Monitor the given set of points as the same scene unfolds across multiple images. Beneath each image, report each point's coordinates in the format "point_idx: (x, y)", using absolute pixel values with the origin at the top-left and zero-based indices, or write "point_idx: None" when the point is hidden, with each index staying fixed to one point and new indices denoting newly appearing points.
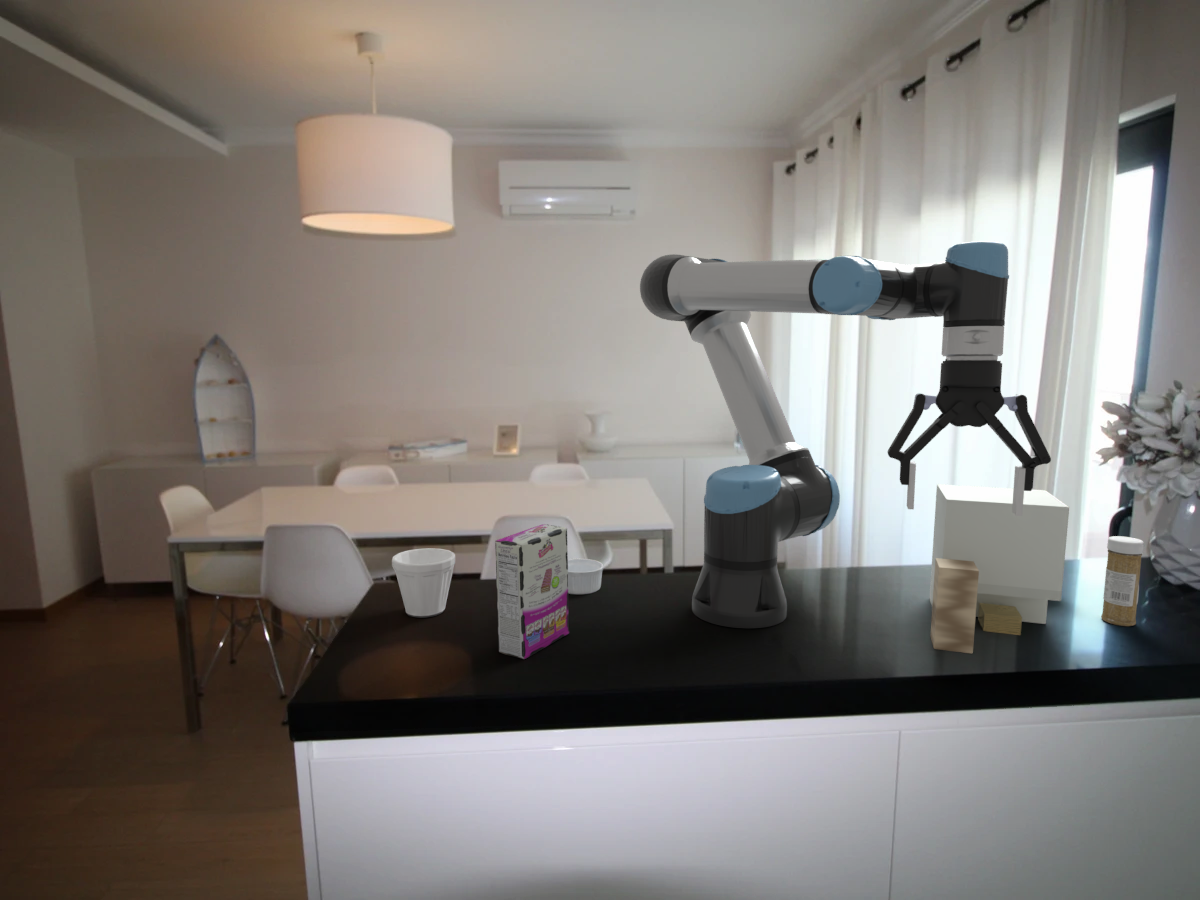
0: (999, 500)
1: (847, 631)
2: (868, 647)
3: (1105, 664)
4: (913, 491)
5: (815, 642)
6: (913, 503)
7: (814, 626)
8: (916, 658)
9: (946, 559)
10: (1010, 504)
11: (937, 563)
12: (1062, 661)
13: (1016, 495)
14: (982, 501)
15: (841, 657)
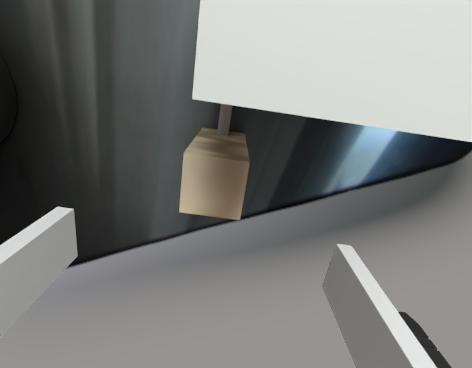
0: (387, 75)
1: (102, 130)
2: (127, 176)
3: (371, 174)
4: (38, 294)
5: (68, 173)
6: (65, 267)
7: (60, 121)
8: (175, 196)
9: (202, 159)
10: (394, 129)
11: (181, 186)
12: (328, 175)
13: (344, 321)
14: (312, 111)
15: (99, 208)
